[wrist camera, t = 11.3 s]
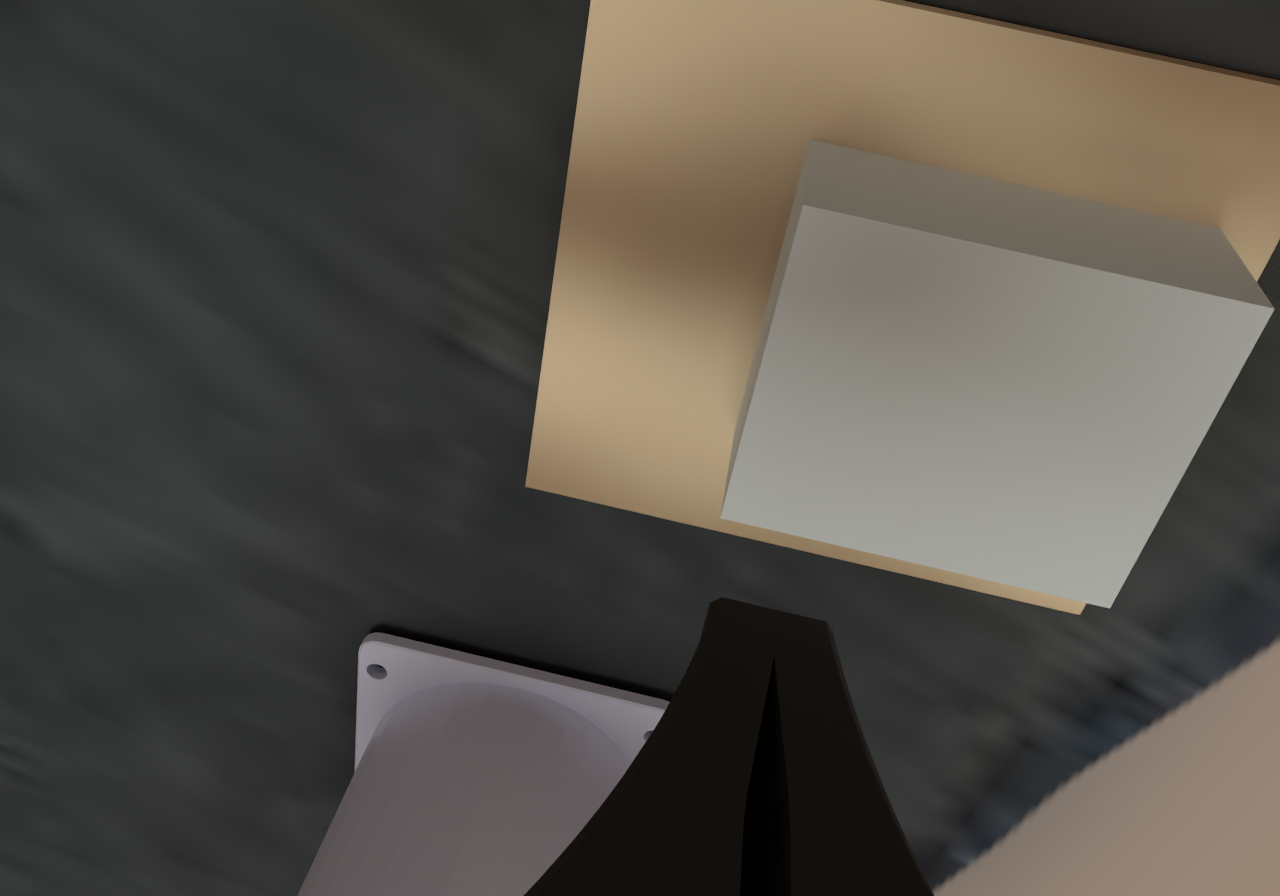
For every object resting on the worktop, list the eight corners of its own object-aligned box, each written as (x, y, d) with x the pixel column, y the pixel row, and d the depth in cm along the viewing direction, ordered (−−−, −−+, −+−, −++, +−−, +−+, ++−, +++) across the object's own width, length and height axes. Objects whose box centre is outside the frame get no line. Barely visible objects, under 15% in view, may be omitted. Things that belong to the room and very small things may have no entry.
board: (1076, 602, 24) (1079, 615, 24) (530, 475, 25) (525, 486, 24) (1343, 94, 18) (1352, 101, 18) (603, -63, 18) (598, -60, 18)
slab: (734, 428, 23) (1081, 507, 22) (719, 517, 20) (1109, 608, 20) (809, 138, 19) (1220, 228, 19) (803, 204, 17) (1274, 308, 16)
